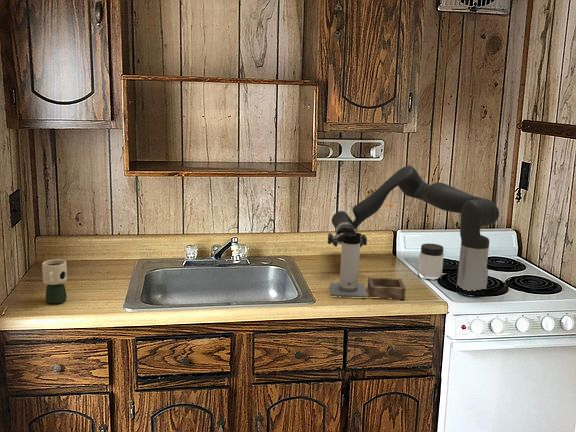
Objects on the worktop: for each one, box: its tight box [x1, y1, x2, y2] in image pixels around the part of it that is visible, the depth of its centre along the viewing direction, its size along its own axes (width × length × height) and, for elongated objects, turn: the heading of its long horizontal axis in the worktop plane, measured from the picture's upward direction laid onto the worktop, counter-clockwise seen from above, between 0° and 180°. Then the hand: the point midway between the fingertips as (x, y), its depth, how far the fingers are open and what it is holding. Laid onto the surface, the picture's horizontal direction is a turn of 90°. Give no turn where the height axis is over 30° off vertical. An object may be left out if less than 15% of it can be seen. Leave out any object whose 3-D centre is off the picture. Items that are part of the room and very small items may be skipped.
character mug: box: [41, 258, 68, 304], centre depth 188 cm, size 11×7×13 cm, turn 6°
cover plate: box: [329, 282, 368, 298], centre depth 207 cm, size 12×12×1 cm
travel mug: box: [339, 232, 363, 292], centre depth 205 cm, size 6×7×20 cm
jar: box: [417, 243, 445, 277], centre depth 225 cm, size 9×8×12 cm
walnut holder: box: [367, 276, 406, 300], centre depth 206 cm, size 12×10×4 cm
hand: (348, 244), depth 215 cm, fingers open, 8 cm apart
